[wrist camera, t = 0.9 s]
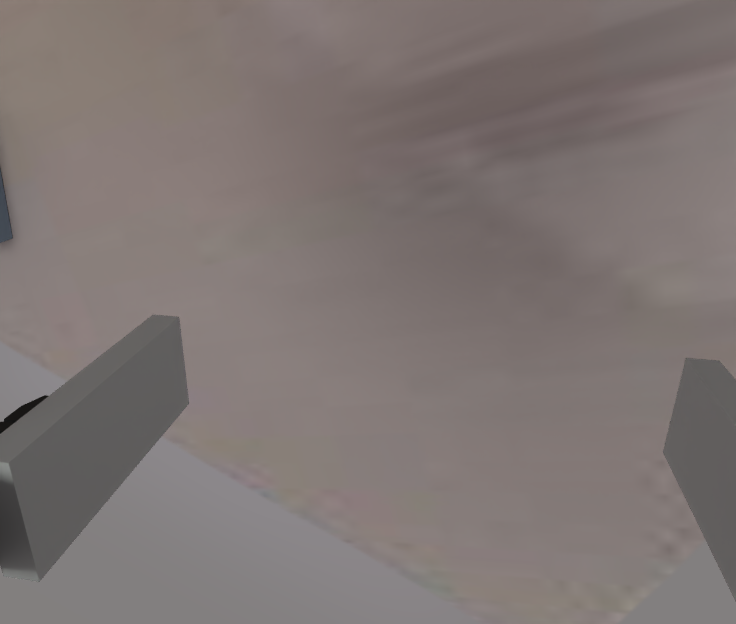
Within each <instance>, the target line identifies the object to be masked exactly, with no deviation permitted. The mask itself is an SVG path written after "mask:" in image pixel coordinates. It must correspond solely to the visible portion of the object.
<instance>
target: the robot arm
mask: <svg viewBox="0 0 736 624" xmlns="http://www.w3.org/2000/svg"><path fill="white" fill-rule="evenodd" d="M188 404H189V398H188V389H187V381H186V372H185V363H184V355H183V346H182V337H181V329H180V320H179V317H175V316H163V315H152V316H151V317H150V318H148V319H147V320H146V321H144V322H143V323H142V324H141V325H139V326H138V327H137V328H135V329H134V330H133V331H132V332H130V333H129V334H128V335H126V336H125V337H124V338H123V339H121V340H120V341H119V342H118V343H116V344H115V345H114V346H112V347H111V348H110V349H109V350H107V351H106V352H105V353H103V354H102V355H101V356H100V357H98V358H97V359H96V360H94V361H93V362H92V363H91V364H89V365H88V366H87V367H85V368H84V369H83V370H82V371H80V372H79V373H78V374H77V375H75V376H74V377H73V378H71V379H70V380H69V381H68V382H66V383H65V384H64V385H62V386H61V387H60V388H59V389H57V390H56V391H55V392H53V393H52V394H51V395H50V396H42V397H40V398H38V399H36V400H34V401H32V402H29V403H27V404H25V405H23V406H21V407H19V408H18V409H17V410H16V411H14V412H13V413H12V414H10V415H9V416H8V417H6V418H5V419H4V422H0V566H1V569H2V573H3V576H5V577H12V578H18V579H25V580H32V581H38V582H40V580H41V579H42V578H43V577H44V576H45V574H46V573H47V572H48V571H49V570H50V569H51V567H52V566H53V565H54V564H55V563H56V561H57V560H58V559H59V558H60V557H61V555H62V554H63V553H64V552H65V551H66V549H67V548H68V547H69V546H70V545H71V544H72V542H73V541H74V540H75V539H76V538H77V536H78V535H79V534H80V533H81V532H82V530H83V529H84V528H85V527H86V526H87V524H88V523H89V522H90V521H91V520H92V518H93V517H94V516H95V515H96V514H97V513H98V511H99V510H100V509H101V508H102V506H103V505H104V504H105V503H106V502H107V501H108V499H109V498H110V497H111V496H112V495H113V493H114V492H115V491H116V490H117V489H118V487H119V486H120V485H121V484H122V483H123V481H124V480H125V479H126V478H127V477H128V476H129V474H130V473H131V472H132V471H133V470H134V468H135V467H136V466H137V465H138V464H139V463H140V461H141V460H142V459H143V458H144V456H145V455H146V454H147V453H148V452H149V451H150V449H151V448H152V447H153V446H154V445H155V443H156V442H157V441H158V440H159V439H160V438H161V436H162V435H163V434H164V433H165V432H166V430H167V429H168V428H169V427H170V426H171V424H172V423H173V422H174V421H175V420H176V419H177V417H178V416H179V415H180V414H181V413H182V411H183V410H184V409H185V408H186V407H187V405H188ZM663 453H664V455H665V457H666V459H667V462H668V464H669V466H670V468H671V470H672V472H673V474H674V476H675V478H676V480H677V482H678V484H679V486H680V488H681V490H682V492H683V494H684V496H685V498H686V501H687V503H688V505H689V507H690V509H691V511H692V513H693V515H694V517H695V519H696V521H697V523H698V525H699V527H700V529H701V531H702V533H703V535H704V537H705V539H706V542H707V543H708V546H709V548H710V550H711V552H712V554H713V556H714V558H715V560H716V562H717V564H718V566H719V568H720V570H721V572H722V574H723V576H724V578H725V581H726V583H727V585H728V587H729V589H730V590H731V593H732V595H733V597H734V599H735V601H736V380H735V379H734V378H733V376H732V375H731V374H730V373H729V371H728V370H727V369H726V368H725V367H724V365H723V364H722V363H721V362H720V361H717V360H705V359H693V358H686V360H685V364H684V368H683V372H682V376H681V380H680V384H679V388H678V393H677V397H676V401H675V405H674V409H673V413H672V417H671V421H670V425H669V429H668V433H667V438H666V442H665V446H664V450H663Z"/></svg>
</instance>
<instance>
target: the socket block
mask: <svg viewBox="0 0 736 624" xmlns="http://www.w3.org/2000/svg"><path fill="white" fill-rule="evenodd" d="M9 239H12V232H11V226H10V221H9V215H8V210H7V204H6V198H5V193H4V187H3V181H2V176H1V170H0V243H1V242H4V241H6V240H9Z"/></svg>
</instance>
